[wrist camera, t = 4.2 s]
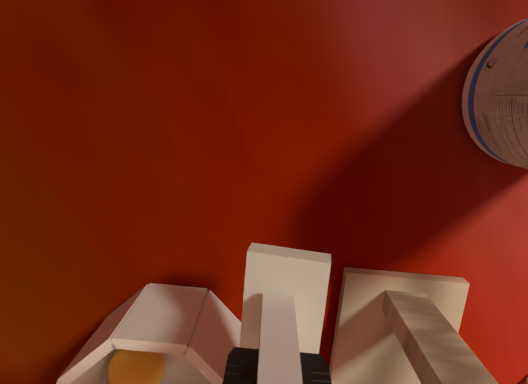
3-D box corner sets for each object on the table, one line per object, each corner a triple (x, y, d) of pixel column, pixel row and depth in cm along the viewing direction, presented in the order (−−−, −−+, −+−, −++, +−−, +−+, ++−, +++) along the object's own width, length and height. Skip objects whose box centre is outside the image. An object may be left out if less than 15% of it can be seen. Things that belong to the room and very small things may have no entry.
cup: (105, 278, 29) (53, 332, 22) (251, 292, 29) (245, 350, 22) (107, 402, 31) (60, 484, 25) (241, 414, 31) (232, 500, 25)
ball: (175, 336, 29) (130, 324, 30) (144, 369, 25) (94, 354, 26) (173, 380, 30) (130, 367, 31) (144, 419, 26) (95, 402, 27)
